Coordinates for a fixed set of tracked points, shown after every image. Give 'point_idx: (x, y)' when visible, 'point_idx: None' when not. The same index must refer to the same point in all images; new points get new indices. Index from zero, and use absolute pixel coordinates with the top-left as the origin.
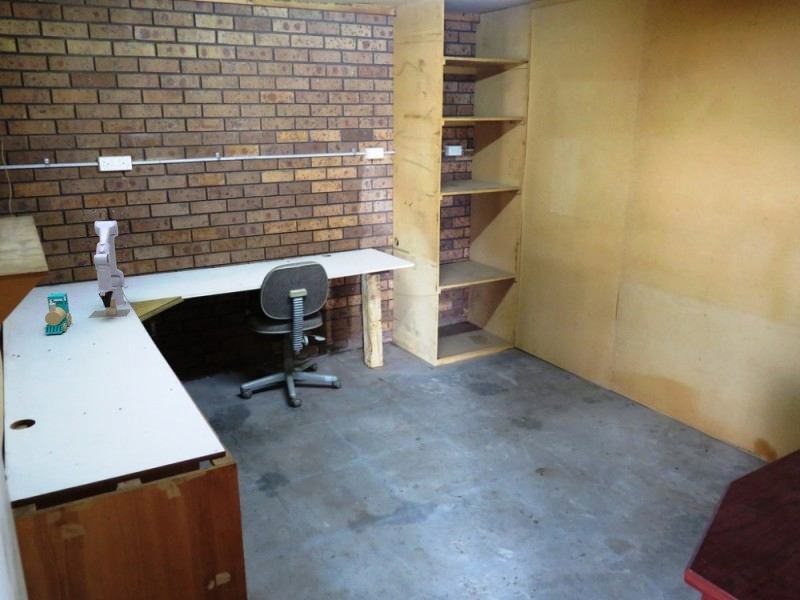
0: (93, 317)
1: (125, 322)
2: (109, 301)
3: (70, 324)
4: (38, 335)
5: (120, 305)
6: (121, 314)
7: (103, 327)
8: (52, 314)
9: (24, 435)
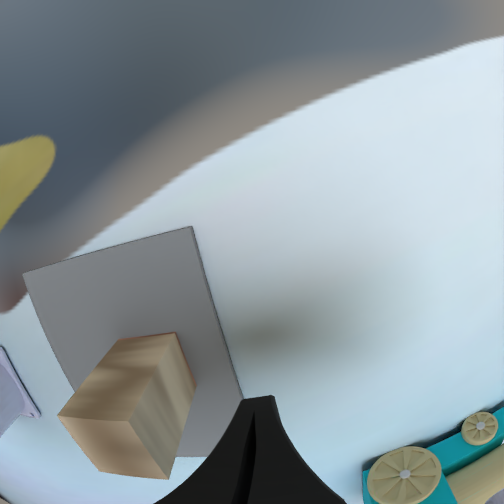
0: None
1: (360, 167)
2: (288, 440)
3: (390, 457)
4: None
5: (3, 358)
6: (146, 292)
7: (465, 282)
8: None
9: None
